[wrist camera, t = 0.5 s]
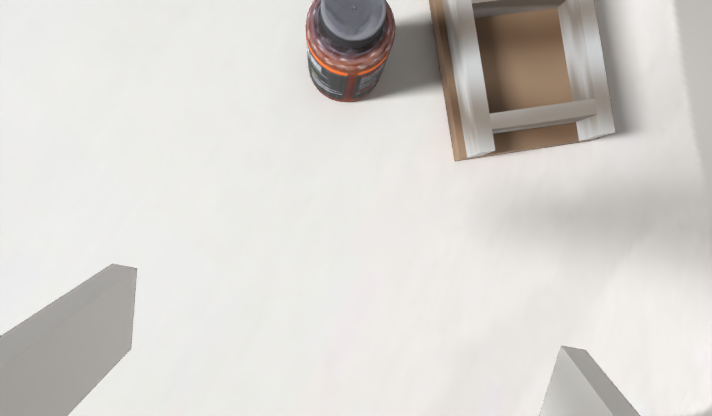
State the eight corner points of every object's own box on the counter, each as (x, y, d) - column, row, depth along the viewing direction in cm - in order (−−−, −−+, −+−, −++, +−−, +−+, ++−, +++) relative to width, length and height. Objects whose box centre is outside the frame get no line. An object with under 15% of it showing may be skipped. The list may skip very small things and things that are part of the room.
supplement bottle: (390, 49, 40) (420, -18, 28) (364, 115, 39) (383, 73, 28) (324, 21, 39) (327, -59, 28) (296, 86, 39) (288, 33, 28)
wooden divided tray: (417, -73, 40) (430, -110, 36) (552, -87, 41) (580, -125, 37) (454, 161, 40) (472, 153, 35) (589, 140, 41) (622, 131, 36)
